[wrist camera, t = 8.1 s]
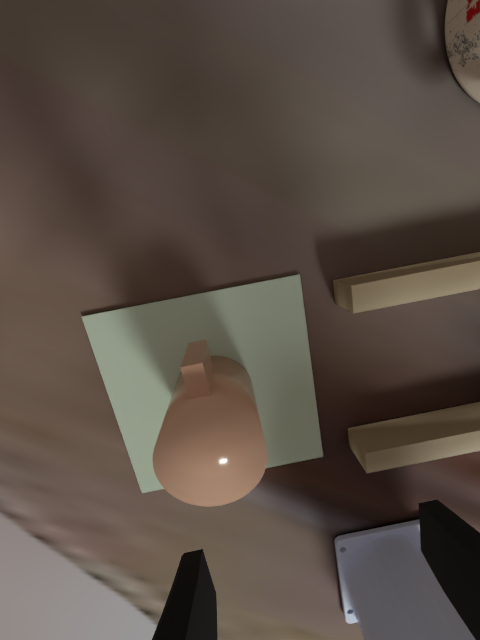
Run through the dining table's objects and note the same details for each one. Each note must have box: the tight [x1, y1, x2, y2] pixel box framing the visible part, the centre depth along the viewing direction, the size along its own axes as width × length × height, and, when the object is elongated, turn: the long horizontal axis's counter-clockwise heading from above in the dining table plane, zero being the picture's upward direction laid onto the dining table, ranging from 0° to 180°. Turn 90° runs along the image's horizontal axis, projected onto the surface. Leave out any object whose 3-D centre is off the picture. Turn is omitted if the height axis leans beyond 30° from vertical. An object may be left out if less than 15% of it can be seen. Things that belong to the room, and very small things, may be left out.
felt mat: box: [82, 274, 323, 493], centre depth 18 cm, size 13×13×1 cm
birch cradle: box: [333, 252, 480, 473], centre depth 17 cm, size 12×12×2 cm
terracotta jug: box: [152, 339, 267, 506], centre depth 15 cm, size 7×5×6 cm
